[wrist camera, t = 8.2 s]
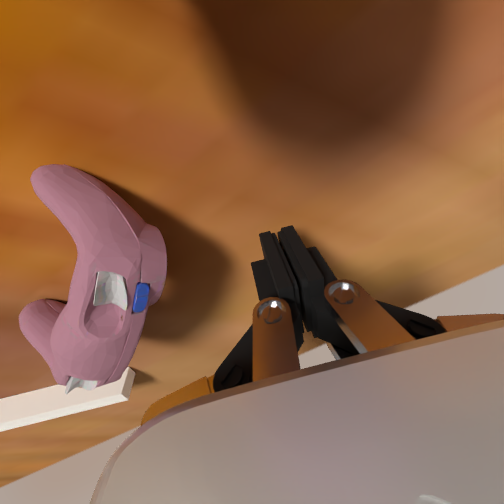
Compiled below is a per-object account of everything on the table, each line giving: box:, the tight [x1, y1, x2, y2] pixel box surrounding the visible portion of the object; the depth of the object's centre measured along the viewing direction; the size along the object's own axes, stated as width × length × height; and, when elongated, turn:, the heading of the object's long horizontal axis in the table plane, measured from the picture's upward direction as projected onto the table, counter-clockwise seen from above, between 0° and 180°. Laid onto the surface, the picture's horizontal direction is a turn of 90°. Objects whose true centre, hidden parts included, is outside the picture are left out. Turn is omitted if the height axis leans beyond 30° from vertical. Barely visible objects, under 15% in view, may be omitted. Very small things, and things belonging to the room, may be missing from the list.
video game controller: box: [19, 164, 167, 394], centre depth 11 cm, size 10×5×7 cm, turn 151°
